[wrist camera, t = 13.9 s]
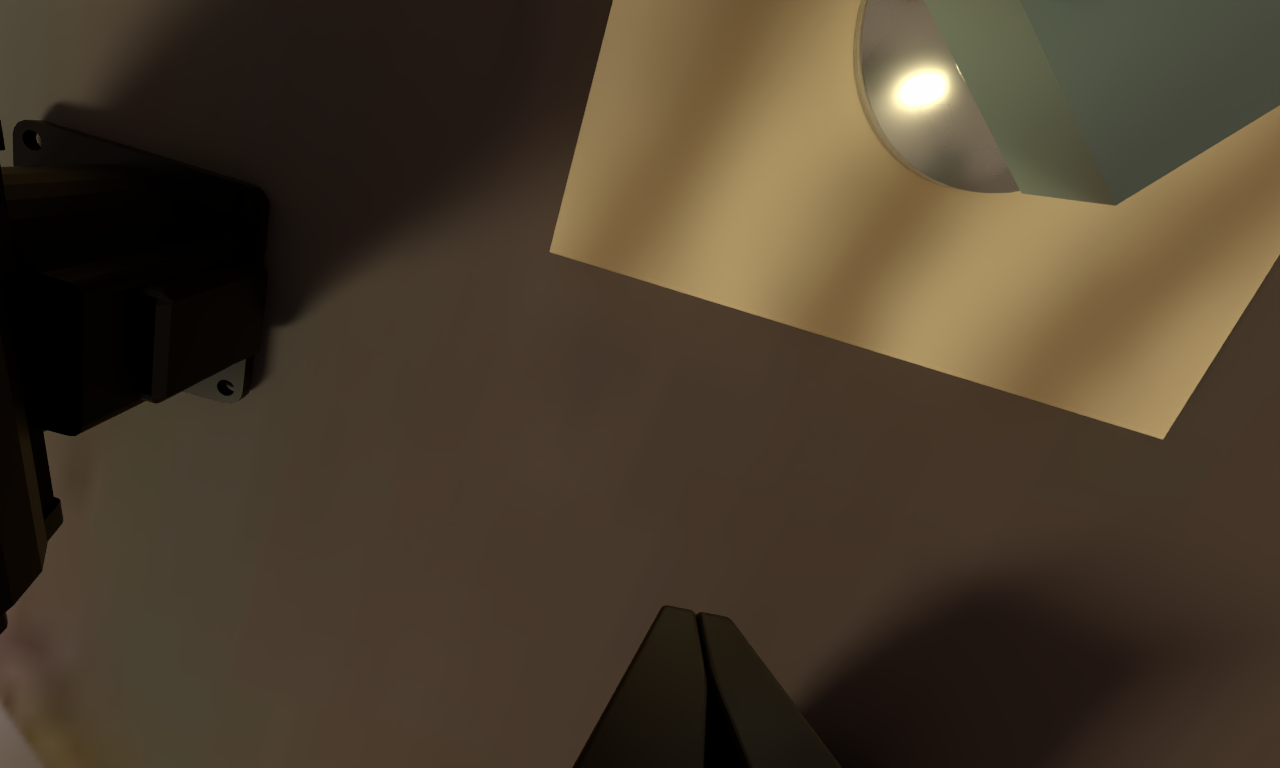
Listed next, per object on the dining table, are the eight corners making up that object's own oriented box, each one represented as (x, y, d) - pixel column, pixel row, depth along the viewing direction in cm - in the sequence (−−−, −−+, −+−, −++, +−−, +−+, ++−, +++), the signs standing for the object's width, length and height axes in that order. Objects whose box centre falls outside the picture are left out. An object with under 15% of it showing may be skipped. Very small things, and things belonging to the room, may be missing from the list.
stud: (808, 142, 16) (838, 141, 14) (930, -193, 14) (997, -278, 11) (1065, 226, 17) (1146, 242, 14) (1224, -84, 15) (1359, -139, 12)
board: (554, 246, 18) (549, 251, 18) (753, -533, 13) (760, -584, 12) (1138, 425, 20) (1162, 439, 19) (1533, -219, 14) (1593, -244, 14)
